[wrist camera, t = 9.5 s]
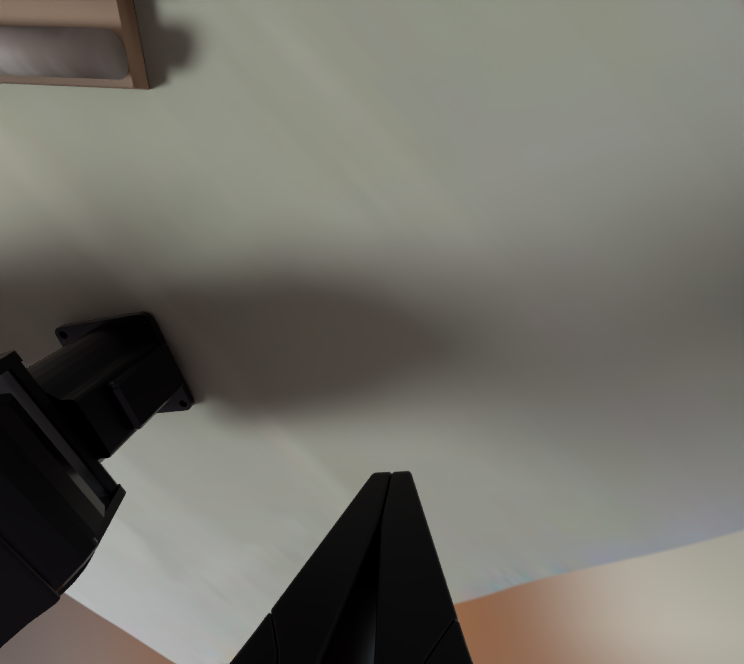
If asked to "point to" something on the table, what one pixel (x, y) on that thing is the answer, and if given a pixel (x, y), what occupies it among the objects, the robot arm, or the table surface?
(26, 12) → the roller track
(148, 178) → the table surface
